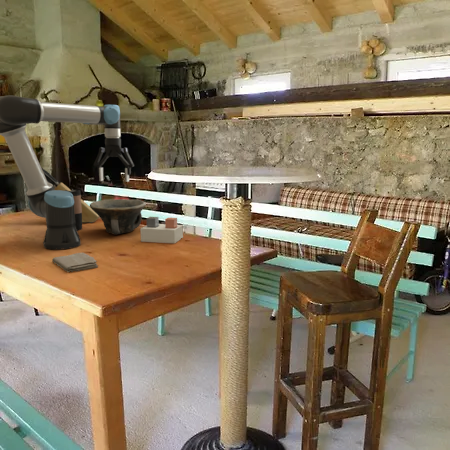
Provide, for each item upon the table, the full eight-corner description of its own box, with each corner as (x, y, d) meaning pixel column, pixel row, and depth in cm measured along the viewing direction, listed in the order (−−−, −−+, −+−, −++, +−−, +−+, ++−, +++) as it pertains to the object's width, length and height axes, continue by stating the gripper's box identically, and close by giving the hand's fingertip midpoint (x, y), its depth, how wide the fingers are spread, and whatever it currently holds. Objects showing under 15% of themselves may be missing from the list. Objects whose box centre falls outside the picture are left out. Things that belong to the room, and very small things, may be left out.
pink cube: (174, 229, 202) (174, 219, 201) (165, 228, 203) (165, 219, 202) (177, 227, 206) (177, 217, 205) (168, 227, 207) (168, 217, 206)
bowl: (134, 239, 206) (132, 207, 203) (81, 237, 211) (79, 205, 208) (154, 228, 232) (153, 199, 229) (107, 226, 237) (105, 197, 234)
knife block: (32, 222, 246) (27, 165, 240) (98, 219, 256) (96, 164, 250) (29, 226, 236) (24, 167, 230) (98, 222, 245) (95, 166, 239)
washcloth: (68, 274, 155) (67, 266, 155) (51, 263, 169) (50, 255, 168) (100, 268, 163) (100, 260, 162) (81, 258, 176) (81, 250, 176)
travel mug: (79, 231, 224) (77, 191, 220) (64, 231, 224) (62, 191, 220) (84, 228, 231) (82, 189, 227) (70, 227, 231) (67, 189, 228)
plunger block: (174, 243, 199) (174, 230, 198) (140, 241, 202) (140, 228, 201) (182, 237, 210) (182, 225, 209) (150, 235, 214) (150, 223, 213)
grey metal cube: (155, 228, 204) (155, 218, 203) (146, 228, 205) (146, 218, 204) (158, 226, 208) (158, 217, 207) (150, 226, 209) (149, 216, 208)
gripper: (140, 137, 220) (141, 181, 224) (92, 137, 224) (94, 179, 228) (134, 137, 213) (135, 182, 217) (85, 137, 217) (87, 181, 221)
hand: (114, 181), depth 222 cm, fingers open, 13 cm apart
